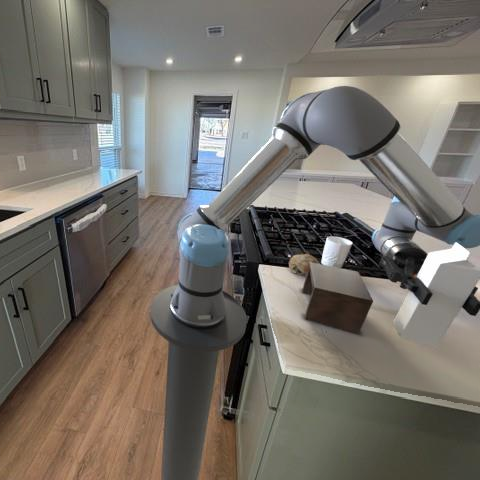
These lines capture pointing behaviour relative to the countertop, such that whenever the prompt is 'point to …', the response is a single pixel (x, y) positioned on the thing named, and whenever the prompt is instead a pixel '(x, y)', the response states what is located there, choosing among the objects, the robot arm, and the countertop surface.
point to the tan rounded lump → (301, 263)
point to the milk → (438, 296)
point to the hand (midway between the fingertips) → (451, 304)
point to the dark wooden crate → (336, 297)
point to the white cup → (335, 251)
